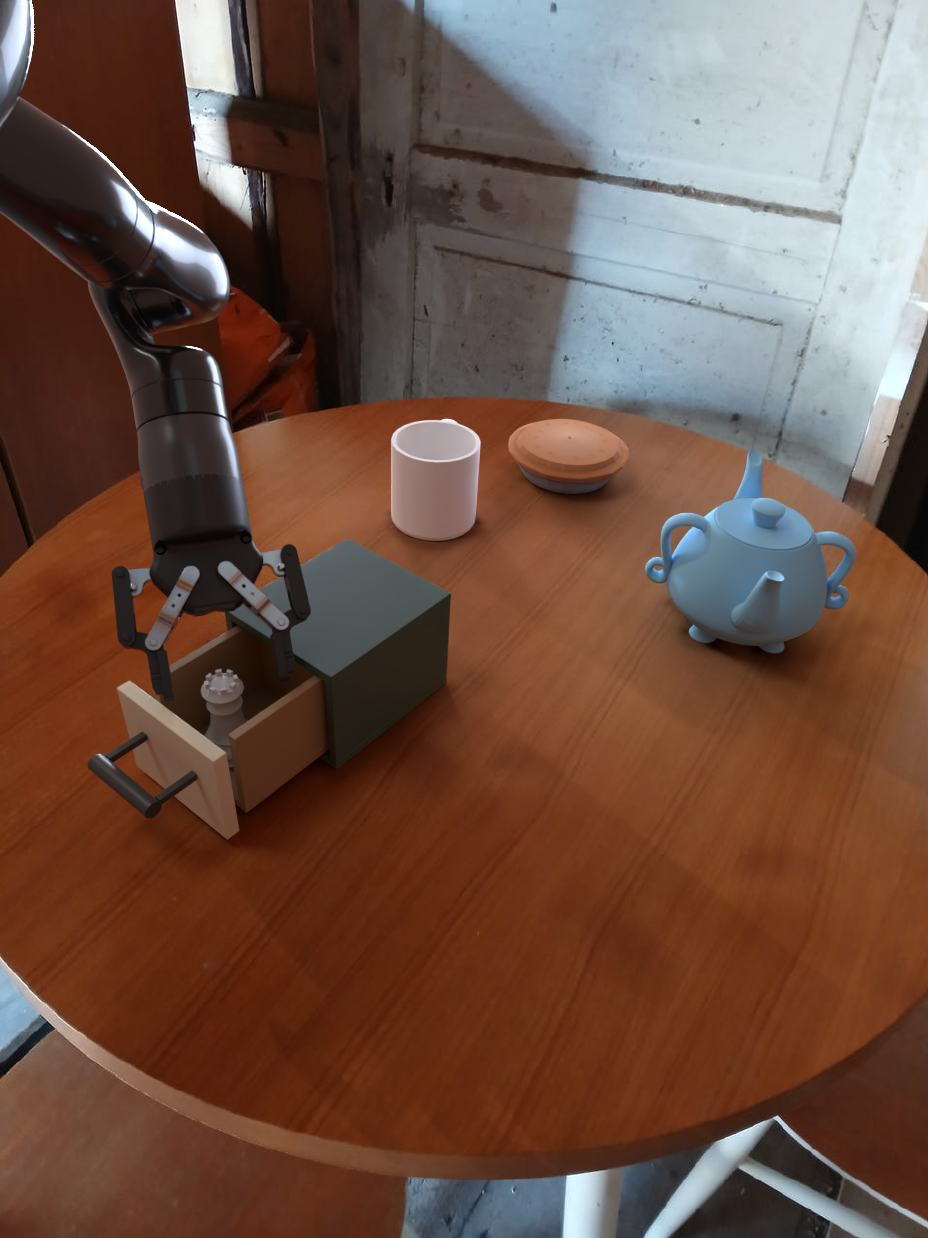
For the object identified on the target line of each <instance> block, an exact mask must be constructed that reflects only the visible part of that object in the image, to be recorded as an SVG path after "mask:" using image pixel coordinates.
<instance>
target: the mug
mask: <svg viewBox="0 0 928 1238" xmlns="http://www.w3.org/2000/svg"><path fill="white" fill-rule="evenodd" d="M390 443H391V444H390V459H391V460H390V476H391V477H390V484H391V485H390V486H391V488H390V497H391V498H390V499H391V500H390V517H391V521H392V523H393V524H394V526H395V527H396V528H397V530H399V531H400V532H401V533H403V534H404V535H407V536H409V537H411V538H414V539H417V540H421V541H429V542H439V541H449V540H453V539H457V538H459V537H461V536H464V535H465V534H466V533H468V532H469V531H470V530H471V529H472V528H473V526H474V525H475V521H476V515H477V502H478V499H477V498H478V489H479V488H478V485H479V471H480V458H481V457H480V456H481V455H480V454H481V439H480V436H479V435H478V434H477V433H476V432H475V431H474V430H473V429H471V428H470V427H467V426H465V425H463V424H460V423H458V422H457V421H455V420H454V419H450V418H443V419H441V420H439V419H429V420H428V419H427V420H425V419H424V420H419V421H413V422H409V423H407V424H404V425H402V426H400V427H399V428H397V429H396V430H395V431H394V432H393V433H392V436H391V439H390Z"/></svg>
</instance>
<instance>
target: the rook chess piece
mask: <svg viewBox="0 0 928 1238" xmlns="http://www.w3.org/2000/svg"><path fill="white" fill-rule="evenodd" d="M215 673H216V675H214V676H212V674H210V673H209V674H208V675H207V676H206V681H204V684H203V685H202V688H201V695H202V697H203V698H204V699H205V700H206V701H207V703H206V706H207V709H208V710H209V711H210V725H209V728H208V730H207V731H206V734H205V737H206V738H207V739H208V740H210V741H211V742H212V743H214V744H215V745H216V746H218V747H219V748H220V749H222V750H223V751H224V752H226V754H227V760H228V766H229V768H234V767H233V761H232V755H231V749H230V743H229V736H228V735H229V734H230V733H231V732H233V731H234V730H236V729H237V728H239V727H240V726H242V725H243V724H244V723H246V722H247V720H246V719H245V718H244V715H243V712H242V709H241V706H242V703H243V699H242V696H241V694H242V692H243V689H244V685H243V682H242V681H241V680H240V679H239V678H238V677H237V674H236V675H234V674H233V671H232V670H229V669H227V671H226V673H222V670H221V669H218V670H215Z"/></svg>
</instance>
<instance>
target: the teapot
mask: <svg viewBox="0 0 928 1238" xmlns="http://www.w3.org/2000/svg"><path fill="white" fill-rule="evenodd" d="M763 469H764V460H763V456H762V454H761V452H760V451H759V450H758V449H755V448H752V449H750V450H749V451H748V453H747V457H746V465H745V471H744V474H743V477H742V480H741V483H740V485H739V487H738V489H737V492H736V493H735V494H734V495H735V496H734V497H733V499H731V500H728V501H725V502H723V503H721V504H720V505H718V506H717V507H715V508H714V509H712V510H711V511H710V512H708V513H707V514H706V515H705V516H702V515H700V514H697V513H694V512H682V513H677V514H674V515H673V516H670V517H669V518H668V519H667V520H666V521H665V522H664V524H663V526H662V528H661V532H660V541H659V542H660V552H661V557H659V556H654V557H652V558H650V559H649V560H648V561H647V562H646V564H645V567H644V573H645V575H646V577H647V578H648V579H649V580H650V581H652V582H653V583H655V584H664V583H666V587H667V592H668V595H669V597H670V599H671V600H672V602H673V604H674V605H675V606H676V608H677V609H678V610H679V612H680V613H681V614H682V615H683V616H684V618H686V620H687V621H688V622H690V623H691V624H692V626H690V628H689V629H688V634H689V637H691V638H692V639H693V640H694V641H696V642H698V643H704V644H709V643H713V642H714V641H716V639H719V640H722V641H725V642H728V643H731V644H737V645H742V646H751V647H758V648H759V649H761V650H763V651H764V652H766V653H771V654H779V653H782V652H783V651H784V650H785V643H786V642H788V641H791V640H793V639H796V638H798V637H801V636H803V635H804V634H806V633H807V632H809V631H811V629H812V628H813V627H815V626H816V625H817V624H818V623H819V621H820V619H821V618H822V615H823V613H824V610H825V609H828V610H838V609H841V608H844V607H845V606H846V605H847V603H848V602H849V598H850V593H849V590H848V588H847V587H846V586H844V585H841V583H842V582H843V581H844V580H845V579H846V577H848V575H849V573H850V572H851V570H852V569H853V567H854V565H855V562H856V559H857V551H856V547H855V544H854V543H853V542H852V541H851V540H850V539H849V537H846V536H845V535H844V534H841V533H840V532H835V531H818V532H817V533H815V530H814V528H813V526H812V525H811V523H810V522H809V520H807V519H806V517H804V516H803V514H801V513H800V512H798V511H796V510H795V509H793V508H792V507H790V506H787V505H785V504H783V503H782V502H781V501H778V500H776V499H774V498H768V497H763V472H764V471H763ZM679 527H691V528H690V529H689V530H688V531H687V532H686V533H685V535H684V536H682V539H681V540H680V541H679V543H678V544H677V546H676V548H675V549H674V551H673V553H672V545H671V537H672V533H673V531H674V530H675V529H677V528H679ZM821 546H834V547H837V548H839V549H842V550H843V551H844V555H843V558H842V560H841V561H840V563H839V564H838V566H837V567H836V568H835V570H834V571H833V572H832V574H831V575H830V576H829V577H828V572H827V565H826V561H825V558H824V557H825V556H824V554H823V552H822V549H821ZM657 566H660V567H662V569H661V570H658V569H656V568H654V567H657ZM832 594H835V595H836V596H832ZM837 595H838V596H837Z"/></svg>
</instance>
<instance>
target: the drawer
mask: <svg viewBox="0 0 928 1238" xmlns="http://www.w3.org/2000/svg"><path fill="white" fill-rule="evenodd" d="M169 666H170V672H171V678H172V684H173V691H174V697H175V700H174V701H168V702H165V700H164V695H163V694H162V695H157V694H156V693H155V691H154V690H153V689H152V692H153V696H154V697H152V696H151V695H150V694H149V693H147V692H146V691H144V690H143V689H142V688H141V687H139V686H138V685H136V684H135V683H134V682H132V680H128V681H126V682H124V683H122V684H121V685H119V686H117V687H116V692H117V695H118V699H119V703H120V707H121V711H122V714H123V718H124V722H125V726H126V729H127V730H126V731H127V734H128V738H129V739H128V740H126V741H125V742H123V743H122V744H120V745H119V746H117V747H115V748H114V749H112V750H111V751H109V752H108V753H106V754H103V753H96V754H94V755H92V756H91V757H90V759H89V760H88V762H87V769H88V770H89V771H90V772H92V773H93V774H94V775H95V776H96V777H97V778H98V779H100V780H101V781H102V782H104V783H105V784H106V785H107V786H108V787H109V788H110V789H112V790H113V791H114V792H115V793H116V794H117V795H119V796H120V797H121V798H122V799H123V800H124V801H126V802H127V803H128V804H129V805H130V806H131V807H133V808H134V809H135V810H136V811H138V812H139V813H140V814H141V815H142V816H143V817H145V818H146V819H148V820H149V819H153V818H155V817H156V816H158V815H159V813H160V812H161V810H162V808H163V805H164V804H165V803H166V802H168V801H169V800H171V799H172V798H175V799H177V800H178V801H179V802H181V804H183V805H184V806H185V807H187V809H189V810H190V811H191V812H193V813H194V814H195V815H196V816H197V817H199V818H200V819H201V820H203V822H205V823H206V824H207V825H209V827H211V828H212V829H213V830H214V831H216V832H217V833H218V834H219V835H221V837H223V838H225V839H226V840H227V841H228V840H229V839H231V838H232V837H233V836H234V835H236V834H237V833H238V832H240V827H239V821H238V814H237V807H238V808H239V809H241V810H242V811H243V812H245V814H247V813H248V812H249V811H251V810H252V809H254V808H255V807H256V806H257V805H259V804H260V803H261V802H263V801H264V800H265V799H267V798H268V797H269V796H270V795H272V794H273V793H274V792H276V791H277V790H279V788H281V787H282V786H283V785H285V784H286V783H287V782H289V781H290V780H292V779H293V778H294V777H295V776H296V775H298V774H299V773H300V772H302V771H303V770H304V769H306V768H307V767H308V766H309V765H311V764H312V763H314V762H315V761H317V759H319V757H320V756H321V755H322V754H324V753H325V752H326V751H327V750H329V741H328V725H327V709H326V694H325V680H323V679H322V678H320V677H318V676H317V675H315V674H314V673H312V672H311V671H309V670H308V669H306V668H304V667H303V666H301V665H300V664H298V663H297V662H295V668H294V671H293V672H292V673H288V677H289V680H288V681H285V682H279V683H278V680H277V674H276V668H275V662H274V657H273V651H272V646H270V645H269V644H267V643H266V642H264V641H262V640H261V639H259V638H258V637H256V636H255V635H253V634H252V633H250V632H248V631H247V630H245V629H244V628H242V627H241V626H239V625H237V626H236V627H234V628H232V629H231V630H229V631H227V630H226V632H224V633H222V634H220V635H218V636H217V637H216V638H214V639H212V640H210V641H209V642H207V643H205V644H204V645H201V647H199V648H197V649H195V650H194V651H192V652H190V653H188V654H187V655H185V656H183V657H182V658H180V659H178V660H177V661H175V662H173V663H171V664H169ZM218 669H221V670H222V673H226V671H227V669H229V670H232V671H233V674H234V675H236V674H237V677H238V678H239V679H240V680H241V681H242V682H243V685H244V689H243V692H242V694H241V696H242V699H243V703H242V706H241V709H242V712H243V715H244V718H245V719H246V720H247V722H246V723H244V724H243V725H242V726H240V727H239V728H237V729H236V730H234V731H233V732H231V733H230V734H229V735H228V736H229V743H230V749H231V755H232V761H233V767H234V768H229V766H228V760H227V754H226V752H224V751H223V750H222V749H220V748H219V747H218V746H216V745H215V744H214V743H212V742H211V741H210V740H208V739H207V738H206V737H205V734H206V731H207V730H208V728H209V725H210V711H209V710H208V709H207V706H206V703H207V701H206V700H205V699H204V698H203V697H202V695H201V688H202V685H203V684H204V681H206V676H207V675H208V674H209V673H210V674H212V676H214V675H216V673H215V670H218ZM149 679H150V680H151V676H150V678H149ZM150 684H152V682H151V681H150ZM130 752H132V753H133V756H134V761H135V764H136V767H137V768H138V769H140V770H141V771H143V772H144V773H145V774H146V775H147V776H148V777H150V778H151V779H152V780H153V781H155V782H156V783H157V784H158V785H160V786H161V787H162V788H163V790H161V791H160V792H158V793H157V794H156V795H152V794H151V793H150V792H149V791H148V790H146V788H144V787H143V786H141V785H140V783H138V782H137V781H135V779H133V778H132V777H131V776H130V775H129V774H127V773H126V772H125V771H124V770H122V769H121V768H120V767H119V766H117V764H115V762H116V761H118V760H120V759H121V758H122V757H124V756H125V755H127V754H129V753H130ZM236 806H237V807H236Z"/></svg>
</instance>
